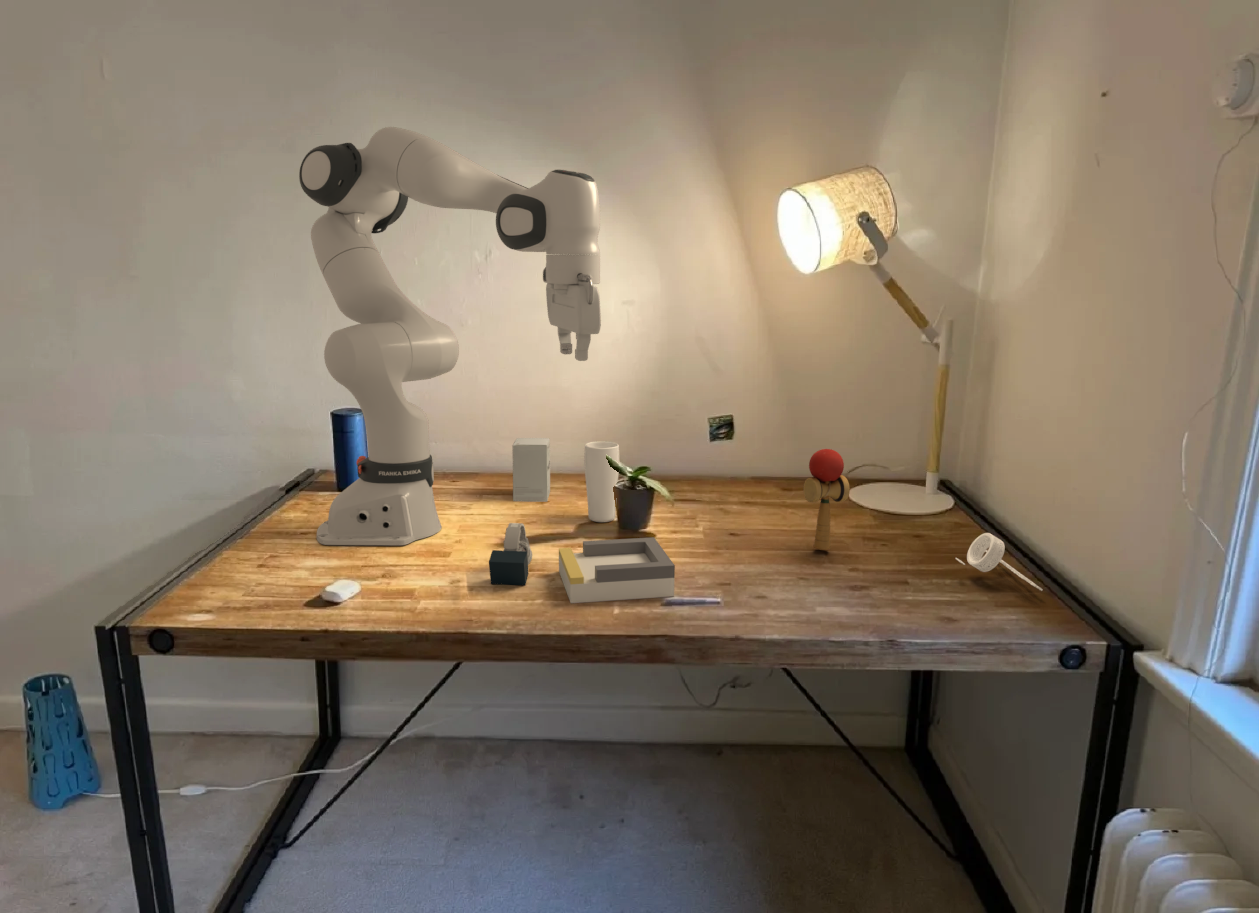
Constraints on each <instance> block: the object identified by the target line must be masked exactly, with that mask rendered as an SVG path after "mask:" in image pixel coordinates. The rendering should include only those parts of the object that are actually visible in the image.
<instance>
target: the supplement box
mask: <svg viewBox="0 0 1259 913" xmlns="http://www.w3.org/2000/svg"><path fill="white" fill-rule="evenodd" d="M511 446H512V501H513V502H533V503H535V502H536V503H537V502H538V503H539V502H542V503H544V502H545V503H548V500H549V496H550V494H551V439H550V438H549V437H516V439H515V440H514V442H513V444H512V445H511Z"/></svg>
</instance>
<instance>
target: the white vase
mask: <svg viewBox="0 0 1259 913" xmlns="http://www.w3.org/2000/svg"><path fill="white" fill-rule="evenodd" d="M606 454H607V455H608V456H610V457H611V458H612V459H613V460H616V461H617V462H618V463H619V464H620V445H619V443H617V442H613V441H607V440H605V441H604V440H601V441H597V440H596V441H590V442H586V443H585V444H584V460H583V461H584V478H585V485H586V486H585V487H586V496H587V497H586V499H587V516H588V519H589V520H590V521H591V522H595V523H608V522H612V521H614V519H615V518H616V507H615V500H614V492H613V487H614V484H616V483H617V482H619V474H620V473H619V472H620V471H619V472H617V471H616V470H614V469H613V468H612V467H610V465H609V463H608V460H607V459H606Z"/></svg>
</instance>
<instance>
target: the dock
mask: <svg viewBox="0 0 1259 913" xmlns="http://www.w3.org/2000/svg"><path fill="white" fill-rule="evenodd" d="M675 566H676V565H675V563H673V561H672V559H671V558H670V557H669V555H668V554H667V553H666V551H665V550H664V549H663V547H662V546H661V545H660V543H659V542H658V541H657V540H656V538H655V537H654V536H653V537H639V538H638V537H637V538H636V537H635V538H620V539H618V538H616V539H602V540H601V539H599V540H583V541H582V552H575V553H574V551H573V550H572V547H560V548H558V573H559V576H560V578H561V581H562V583H563V586H564V589H565V592H566V594H567V597H568V600H569V602H570V604H577V603H579V604H581V603H595V602H597V603H598V602H609V601H610V602H611V601H624V600H625V601H626V600H638V599H652V598H654V599H655V598H656V599H657V598H668V597H675V574H676V572H675V571H676V570H675V569H676V567H675Z"/></svg>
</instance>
